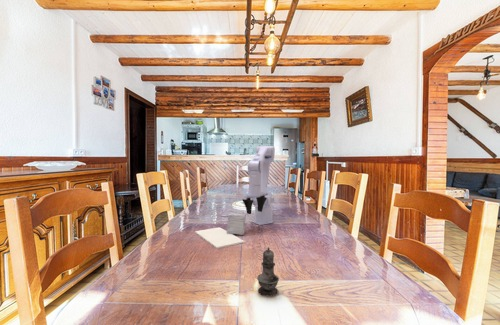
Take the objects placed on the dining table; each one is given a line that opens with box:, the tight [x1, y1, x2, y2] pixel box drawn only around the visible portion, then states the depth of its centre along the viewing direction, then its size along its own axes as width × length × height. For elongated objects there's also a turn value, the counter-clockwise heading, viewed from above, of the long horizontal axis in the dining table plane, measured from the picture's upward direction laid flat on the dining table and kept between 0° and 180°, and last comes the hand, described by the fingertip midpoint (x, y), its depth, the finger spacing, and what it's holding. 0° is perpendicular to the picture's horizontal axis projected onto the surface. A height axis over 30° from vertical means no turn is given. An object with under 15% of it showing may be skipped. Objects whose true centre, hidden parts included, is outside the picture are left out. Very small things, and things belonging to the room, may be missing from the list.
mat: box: [194, 227, 246, 249], centre depth 110 cm, size 13×24×1 cm, turn 33°
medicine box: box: [226, 212, 247, 236], centre depth 115 cm, size 8×4×9 cm, turn 85°
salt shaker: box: [256, 246, 280, 298], centre depth 66 cm, size 6×6×12 cm
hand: (254, 212), depth 120 cm, fingers open, 7 cm apart
